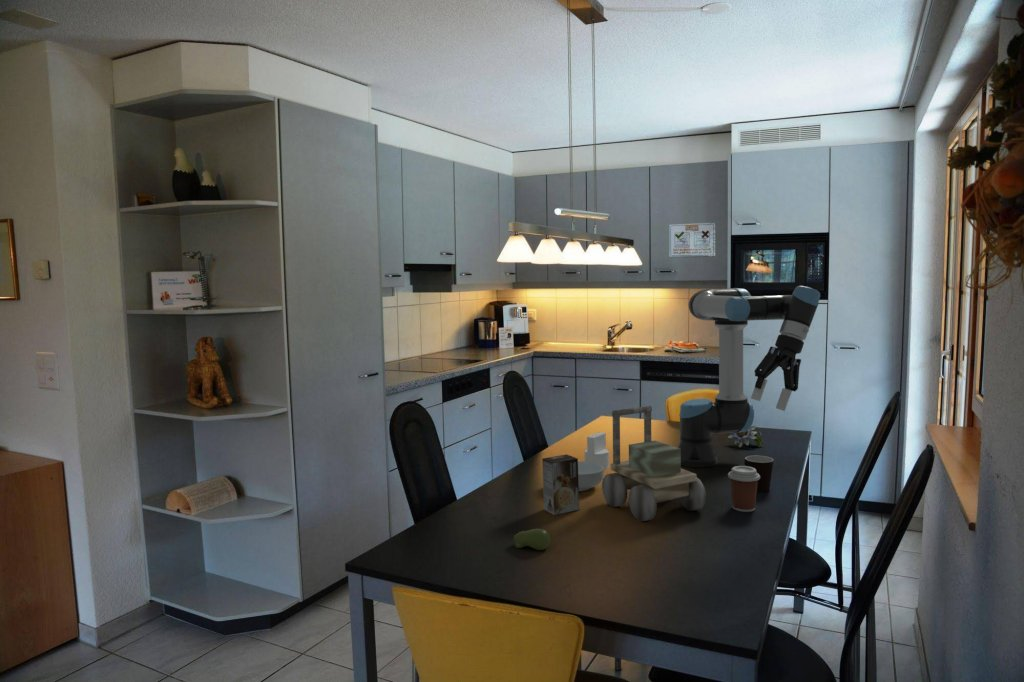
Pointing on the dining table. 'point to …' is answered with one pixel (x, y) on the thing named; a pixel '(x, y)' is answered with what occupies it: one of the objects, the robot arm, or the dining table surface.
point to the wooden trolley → (649, 473)
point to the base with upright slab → (597, 450)
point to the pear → (532, 539)
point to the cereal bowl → (589, 475)
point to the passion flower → (746, 437)
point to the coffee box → (560, 484)
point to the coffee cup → (743, 487)
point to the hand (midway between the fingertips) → (767, 404)
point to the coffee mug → (761, 470)
